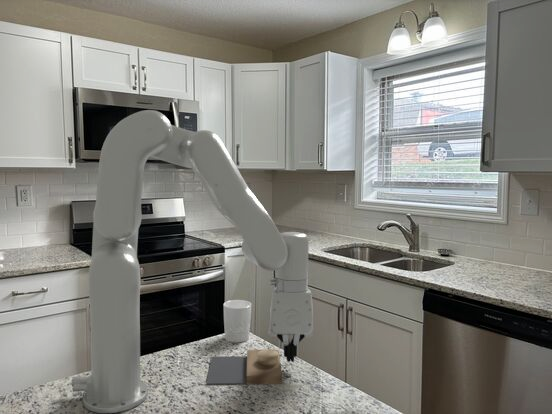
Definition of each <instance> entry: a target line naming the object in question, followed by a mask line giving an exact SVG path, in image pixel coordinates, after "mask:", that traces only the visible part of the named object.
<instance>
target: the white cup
mask: <svg viewBox="0 0 552 414" xmlns="http://www.w3.org/2000/svg"><path fill="white" fill-rule="evenodd" d="M251 316H252V302H250V301H248V300H244V299H232V300H228V301H225V302H224V303H223V326H224V339H225V340H226V342H231V343H235V344H236V343H243V342H246V341H248V340H249V339H250V328H251V327H250V326H251Z"/></svg>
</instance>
